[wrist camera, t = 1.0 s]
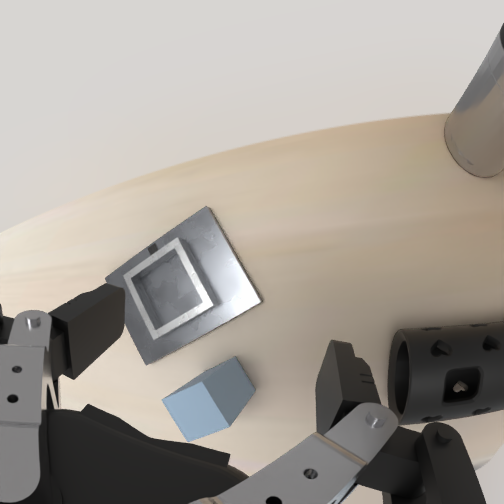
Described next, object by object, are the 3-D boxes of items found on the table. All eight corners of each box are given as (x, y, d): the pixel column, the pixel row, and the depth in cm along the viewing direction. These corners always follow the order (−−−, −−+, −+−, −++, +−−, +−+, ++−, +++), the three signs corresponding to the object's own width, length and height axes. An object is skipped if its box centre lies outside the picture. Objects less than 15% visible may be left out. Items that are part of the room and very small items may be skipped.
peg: (235, 356, 34) (201, 381, 24) (255, 390, 33) (229, 426, 23) (202, 372, 34) (161, 399, 25) (222, 405, 34) (187, 442, 24)
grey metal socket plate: (210, 208, 36) (199, 201, 33) (262, 301, 34) (256, 303, 31) (110, 278, 38) (95, 277, 35) (150, 363, 36) (137, 369, 33)
